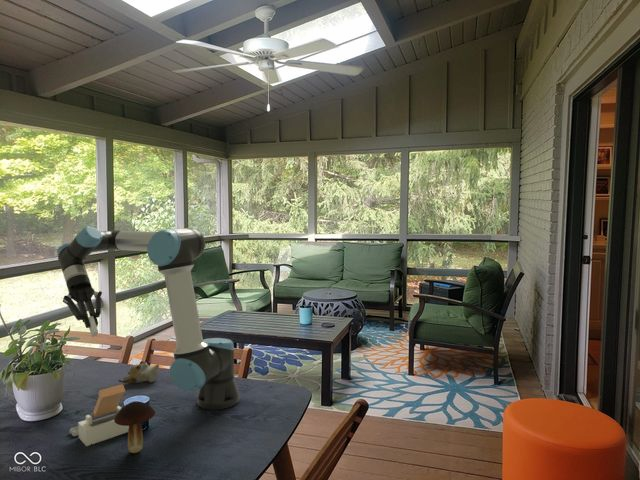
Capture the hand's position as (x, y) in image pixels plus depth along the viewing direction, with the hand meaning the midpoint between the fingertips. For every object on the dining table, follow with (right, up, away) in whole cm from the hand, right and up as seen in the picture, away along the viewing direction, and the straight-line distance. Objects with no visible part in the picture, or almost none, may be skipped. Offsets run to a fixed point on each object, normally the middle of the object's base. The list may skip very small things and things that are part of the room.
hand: (95, 334), depth 156 cm
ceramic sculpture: (+3, -26, +32) cm, 41 cm away
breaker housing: (+7, -29, -11) cm, 32 cm away
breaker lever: (+9, -23, -12) cm, 27 cm away
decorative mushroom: (+23, -30, -22) cm, 44 cm away
